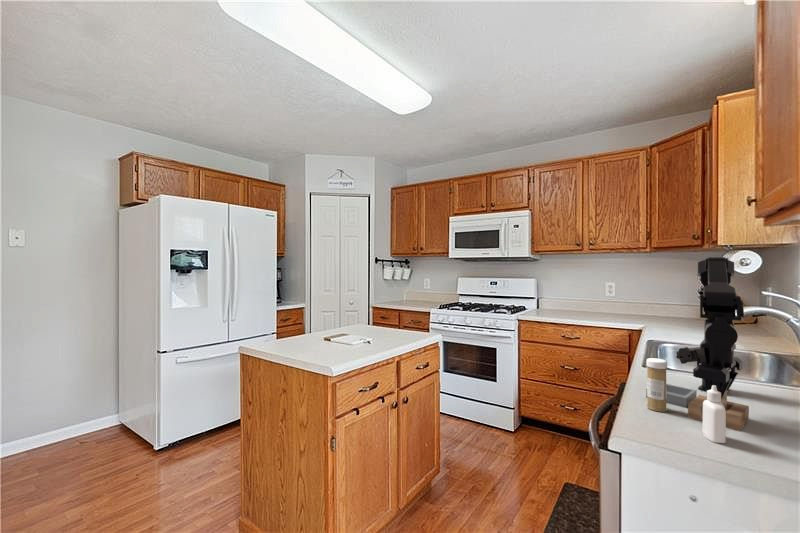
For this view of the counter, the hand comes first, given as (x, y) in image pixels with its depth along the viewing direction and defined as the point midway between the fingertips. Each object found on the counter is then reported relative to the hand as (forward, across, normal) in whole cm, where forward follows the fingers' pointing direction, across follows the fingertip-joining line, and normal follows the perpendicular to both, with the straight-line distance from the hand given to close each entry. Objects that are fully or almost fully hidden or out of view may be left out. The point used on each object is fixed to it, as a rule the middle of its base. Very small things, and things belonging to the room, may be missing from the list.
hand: (718, 401), depth 95 cm
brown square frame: (+4, 0, 0) cm, 5 cm away
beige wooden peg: (+2, 0, 0) cm, 2 cm away
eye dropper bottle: (+5, +14, +2) cm, 15 cm away
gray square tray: (+4, -7, -12) cm, 15 cm away
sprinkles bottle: (+5, +5, -12) cm, 14 cm away
